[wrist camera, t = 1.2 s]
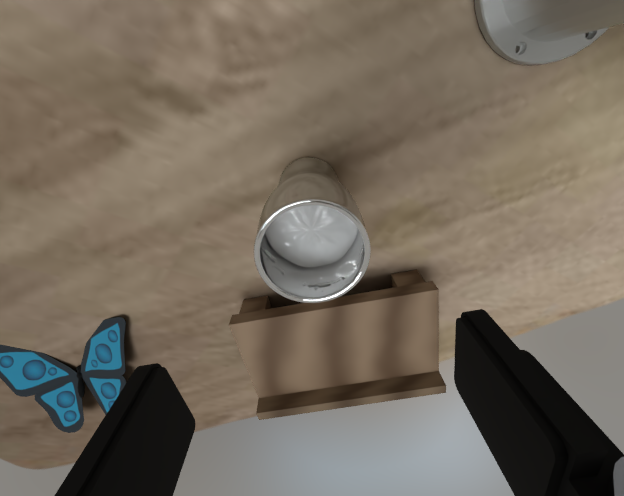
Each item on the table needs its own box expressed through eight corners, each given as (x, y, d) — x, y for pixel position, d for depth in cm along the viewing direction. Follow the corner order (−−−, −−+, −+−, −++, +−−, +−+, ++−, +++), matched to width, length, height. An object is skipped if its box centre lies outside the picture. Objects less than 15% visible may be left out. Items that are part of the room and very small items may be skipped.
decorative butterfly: (50, 423, 44) (34, 442, 41) (-14, 347, 38) (-37, 363, 36) (179, 389, 43) (171, 406, 40) (131, 307, 38) (118, 320, 35)
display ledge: (420, 265, 34) (447, 301, 28) (423, 347, 40) (445, 392, 34) (238, 297, 36) (224, 338, 29) (266, 371, 41) (259, 419, 35)
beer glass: (315, 231, 32) (322, 324, 19) (261, 194, 30) (226, 267, 17) (357, 180, 30) (400, 244, 16) (301, 136, 28) (298, 167, 14)
